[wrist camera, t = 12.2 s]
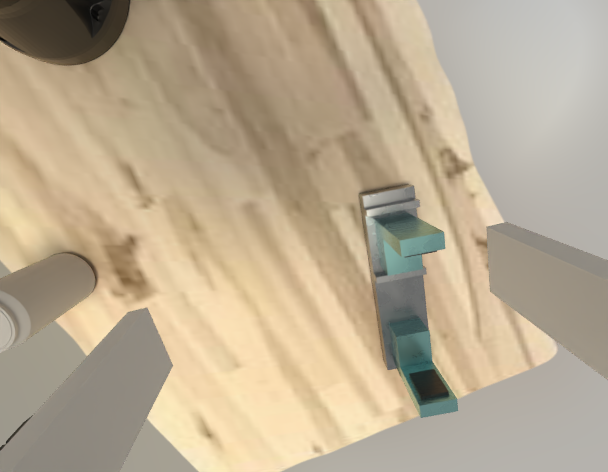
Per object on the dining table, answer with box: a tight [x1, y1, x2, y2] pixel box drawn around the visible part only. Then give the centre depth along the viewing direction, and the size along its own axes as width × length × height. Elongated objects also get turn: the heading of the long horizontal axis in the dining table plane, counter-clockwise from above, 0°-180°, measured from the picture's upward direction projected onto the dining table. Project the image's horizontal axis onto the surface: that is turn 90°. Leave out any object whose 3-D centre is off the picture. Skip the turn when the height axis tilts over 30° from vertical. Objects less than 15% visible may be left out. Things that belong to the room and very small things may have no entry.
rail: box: [359, 184, 458, 418], centre depth 35 cm, size 24×6×11 cm, turn 11°
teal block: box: [374, 213, 445, 276], centre depth 33 cm, size 6×4×9 cm, turn 11°
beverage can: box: [0, 253, 95, 352], centre depth 33 cm, size 6×6×12 cm
